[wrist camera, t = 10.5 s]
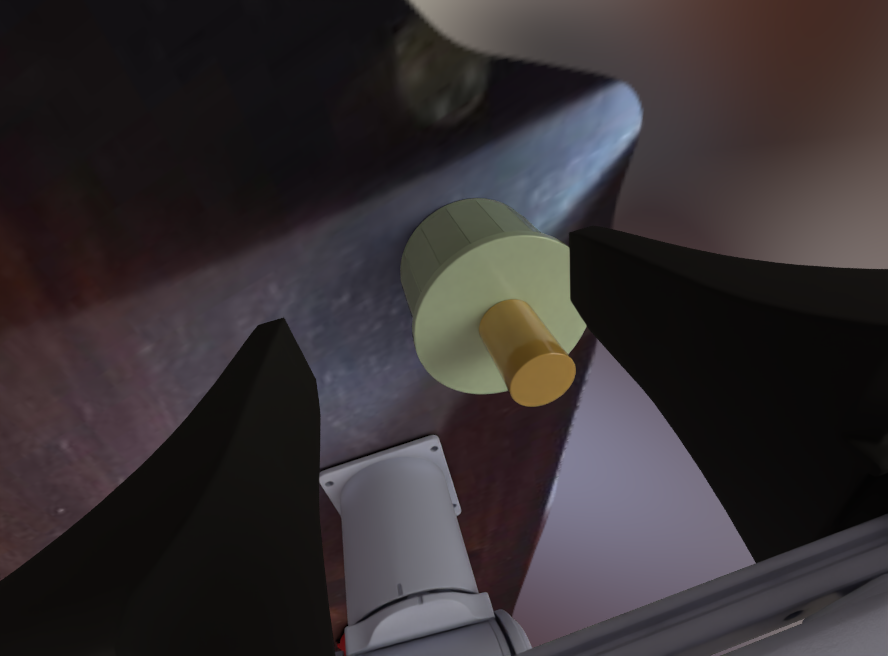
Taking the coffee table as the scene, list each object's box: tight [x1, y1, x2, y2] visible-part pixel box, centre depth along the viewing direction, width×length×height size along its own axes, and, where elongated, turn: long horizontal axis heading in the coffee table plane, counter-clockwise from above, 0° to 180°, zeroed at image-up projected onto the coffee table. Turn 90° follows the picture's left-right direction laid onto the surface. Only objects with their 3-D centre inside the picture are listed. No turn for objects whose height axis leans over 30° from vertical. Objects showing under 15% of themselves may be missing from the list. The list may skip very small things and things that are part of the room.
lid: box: [412, 231, 587, 407], centre depth 17 cm, size 8×8×5 cm
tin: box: [400, 198, 541, 318], centre depth 20 cm, size 7×7×5 cm
